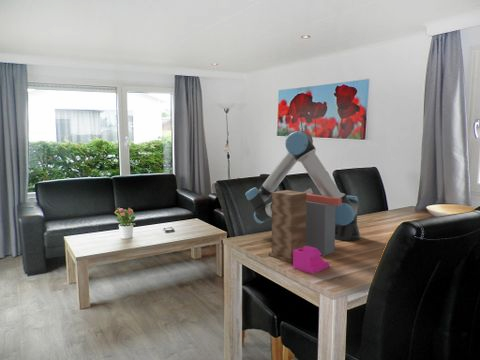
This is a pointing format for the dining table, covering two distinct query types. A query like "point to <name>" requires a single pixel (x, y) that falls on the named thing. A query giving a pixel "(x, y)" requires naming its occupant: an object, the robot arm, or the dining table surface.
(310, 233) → the block
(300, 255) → the bracket
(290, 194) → the tower
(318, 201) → the lever bar
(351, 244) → the dining table surface
